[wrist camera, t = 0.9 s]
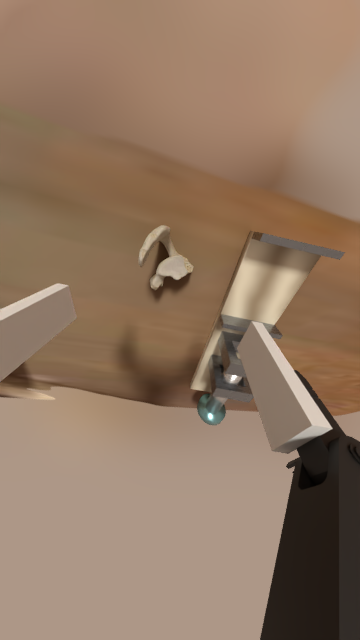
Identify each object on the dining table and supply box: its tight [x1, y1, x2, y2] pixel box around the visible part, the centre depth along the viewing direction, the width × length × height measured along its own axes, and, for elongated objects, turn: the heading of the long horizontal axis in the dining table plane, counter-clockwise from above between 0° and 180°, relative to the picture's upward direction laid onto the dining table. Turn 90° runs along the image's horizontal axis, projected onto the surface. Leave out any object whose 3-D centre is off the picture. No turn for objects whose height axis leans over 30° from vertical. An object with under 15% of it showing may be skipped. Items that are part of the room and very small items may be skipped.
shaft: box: [197, 372, 242, 425], centre depth 32 cm, size 16×6×6 cm, turn 169°
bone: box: [139, 225, 193, 290], centre depth 20 cm, size 9×6×10 cm
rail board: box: [190, 231, 321, 392], centre depth 30 cm, size 10×36×2 cm, turn 169°
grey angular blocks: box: [208, 232, 345, 402], centre depth 24 cm, size 10×25×9 cm, turn 169°
